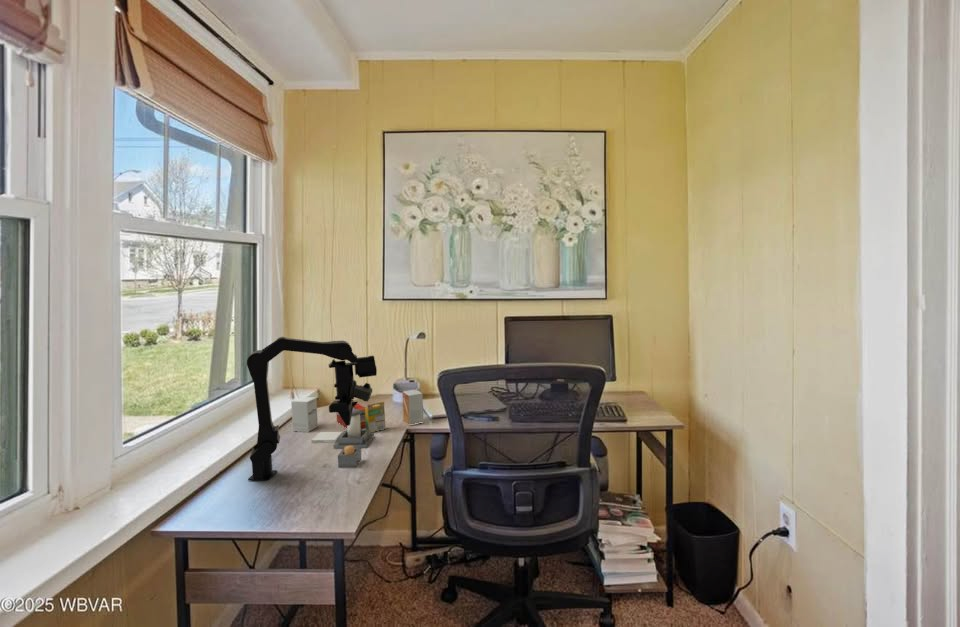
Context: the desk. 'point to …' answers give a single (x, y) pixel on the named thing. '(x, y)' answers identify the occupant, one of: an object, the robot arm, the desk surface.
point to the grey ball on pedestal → (354, 424)
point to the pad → (326, 437)
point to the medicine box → (362, 416)
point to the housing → (354, 440)
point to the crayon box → (375, 417)
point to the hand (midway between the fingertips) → (348, 425)
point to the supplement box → (304, 414)
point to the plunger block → (349, 458)
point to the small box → (412, 406)
